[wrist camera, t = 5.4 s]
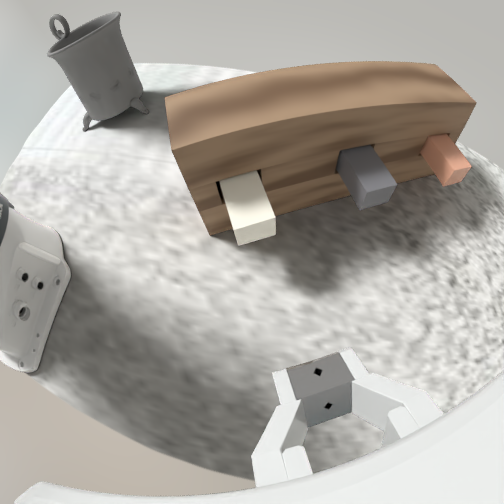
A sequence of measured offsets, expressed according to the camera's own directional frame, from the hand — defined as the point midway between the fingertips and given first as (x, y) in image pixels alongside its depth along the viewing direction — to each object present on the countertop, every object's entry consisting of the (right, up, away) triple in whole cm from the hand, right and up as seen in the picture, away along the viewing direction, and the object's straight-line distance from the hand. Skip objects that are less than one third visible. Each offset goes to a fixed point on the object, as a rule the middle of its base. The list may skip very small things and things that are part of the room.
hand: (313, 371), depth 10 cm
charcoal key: (+9, +11, +17) cm, 23 cm away
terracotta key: (+20, +15, +18) cm, 31 cm away
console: (+8, +14, +25) cm, 30 cm away
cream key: (-2, +8, +17) cm, 19 cm away
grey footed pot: (-29, +32, +37) cm, 57 cm away
